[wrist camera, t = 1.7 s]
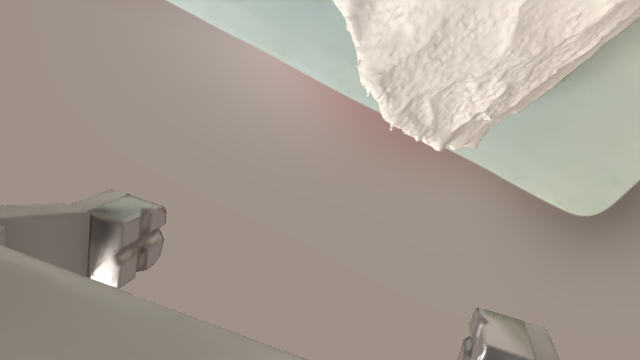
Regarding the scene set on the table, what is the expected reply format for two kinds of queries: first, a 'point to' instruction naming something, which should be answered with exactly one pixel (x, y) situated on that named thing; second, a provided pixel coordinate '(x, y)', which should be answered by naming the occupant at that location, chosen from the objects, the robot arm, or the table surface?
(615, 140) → the table surface
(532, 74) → the rock
